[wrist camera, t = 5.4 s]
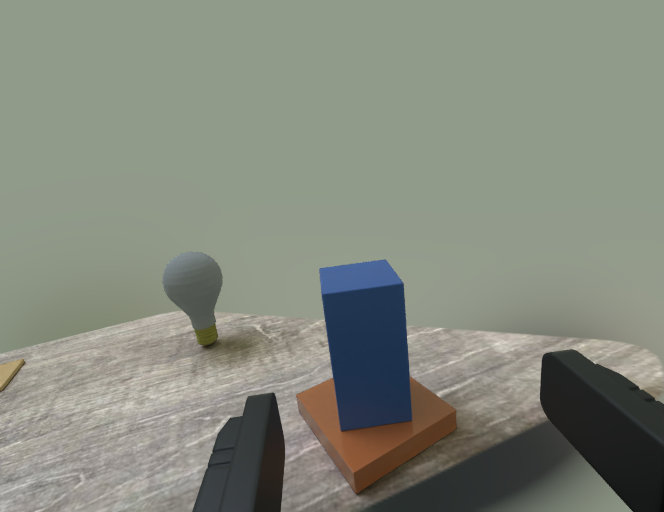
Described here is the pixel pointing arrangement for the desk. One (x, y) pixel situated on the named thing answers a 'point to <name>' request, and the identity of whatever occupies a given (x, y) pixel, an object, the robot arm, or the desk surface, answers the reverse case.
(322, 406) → the orange-brown square slab
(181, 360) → the desk surface
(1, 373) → the mat
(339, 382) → the block
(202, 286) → the light bulb
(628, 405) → the robot arm
